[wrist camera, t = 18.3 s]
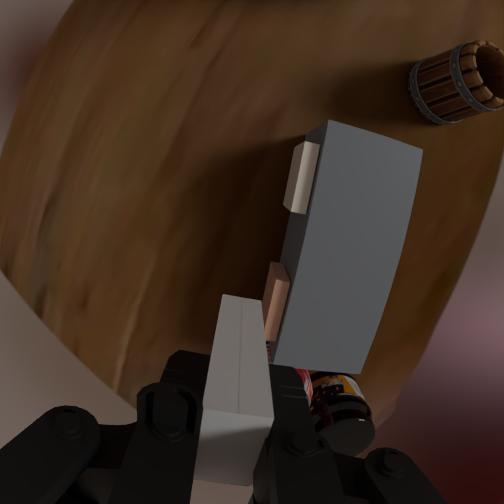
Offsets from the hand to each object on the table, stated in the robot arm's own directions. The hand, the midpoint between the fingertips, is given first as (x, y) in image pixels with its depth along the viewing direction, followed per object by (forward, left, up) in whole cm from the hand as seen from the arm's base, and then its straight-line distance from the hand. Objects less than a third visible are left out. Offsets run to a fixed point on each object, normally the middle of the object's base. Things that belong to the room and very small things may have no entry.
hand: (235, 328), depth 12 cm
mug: (+6, +37, -31) cm, 48 cm away
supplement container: (+30, -10, -31) cm, 44 cm away
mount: (+9, +6, -30) cm, 32 cm away
